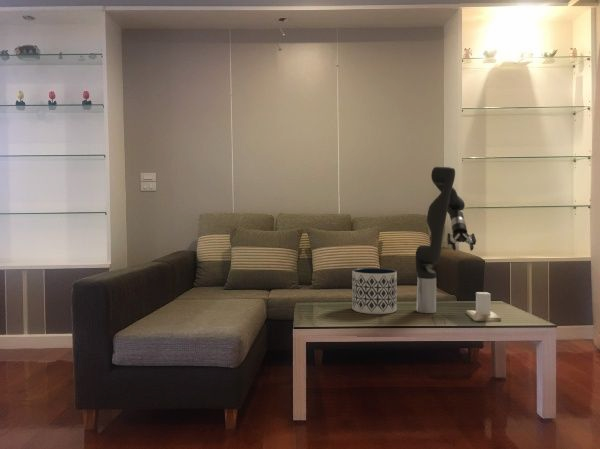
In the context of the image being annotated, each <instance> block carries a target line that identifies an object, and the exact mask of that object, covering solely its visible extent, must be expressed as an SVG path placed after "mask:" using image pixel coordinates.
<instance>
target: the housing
mask: <svg viewBox="0 0 600 449" xmlns="http://www.w3.org/2000/svg"><path fill="white" fill-rule="evenodd" d="M491 296H492V293H490V292H488V291H487V292H486V291H482V292H481V291H476V292H475V311H476V313H477V314H478V315H490V311H492V310H491V305H492V304H491V301H492V300H491V299H492V298H491Z"/></svg>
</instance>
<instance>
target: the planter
mask: <svg viewBox="0 0 600 449" xmlns="http://www.w3.org/2000/svg"><path fill="white" fill-rule="evenodd" d="M351 272H352V273H351V276H352V277H351V278H352V279H351V284H352V285H351V287H352V288H351V292H352V293H351V296H352V298H351V301H352V302H351V306H352V307H351V308H352V310H354V312H357V313H360V314H367V315H387V314H392V313H395V312H396V311H397V308H398V307H397V303H398V302H397V297H398V296H397V294H398V293H397V292H398V287H397V285H398V284H397V282H398V279H397V278H398V275H397V272H398V271H397V270H395V269H391V268H375V267H374V268H373V267H366V268H365V267H364V268H355V269H353V270H352V271H351Z"/></svg>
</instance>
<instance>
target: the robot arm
mask: <svg viewBox="0 0 600 449" xmlns="http://www.w3.org/2000/svg"><path fill="white" fill-rule="evenodd" d="M430 175H431V181H432V183H433V184H434V186H435V187H436V188H437V189H438V190H439V192H440V193H439V195H438V196H437V197H436V198H435V199H434V200H433V201H432V202H431V203H430V205H429V206H428V210H427V214H426V216H427V217H426V223H427V226H428V229H429V231H430V235H431V238H430V244H429V245H425V244H424V245H419V246H418V247H417V248H416V250H415V271H416V276H417V279H416V281H417V282H416V283H417V286H416V288H417V290H416V305H415V306H416V312H417V313H422V314H423V313H424V314H435V313H436V312H437V272H436V271H435V270H433V269H432V268H430V265H433V266H435V265H437V264H438V263H439V261H440V259H441V255H442V254H441V253H442V243H443V235H444V229H445V224H446V219H447V216H448V215H449V219H450V227H451V232H452V234H451V233H447V236H446V241H447V245H448V246H449V245H451V249H452V250H453V251H456V249H457V247H456V243H457V242H458V243H466V244H468V245H469V250H470V252H471V251H473V250H474V248H475V247H474V246H475V245H476V243H477V239H476V236H475V233H472V234H469V233H468V229H467V223H466V220H465V217H464V213H463V210H464V209H465V206H466V205H465V204H466V203H465V202H464V200H463V199H462V197H460V196H459V195H458V193H457V191H456V189H455V188H454V187H453V186H454V182H455V178H456V169H455V167H453V166H442V165H441V166H439V165H438V166H434V167H433V168H432V171H431V174H430ZM447 214H448V215H447ZM451 239H453V240H451Z"/></svg>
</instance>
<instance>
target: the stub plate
mask: <svg viewBox="0 0 600 449" xmlns="http://www.w3.org/2000/svg"><path fill="white" fill-rule="evenodd" d="M465 312H466V313H465V314H466V315H467V316H468V317H470V318H471V319H472V320H473V321H478V322H479V321H481V322H483V321H484V322H485V321H486V322H488V321H489V322H502V317H501V316H499V315H498V314H496V313H495V312H494V311H492V310H490V315H478V314H477V313H476V310H471V309H470V310H469V309H467V310H466V311H465Z"/></svg>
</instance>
